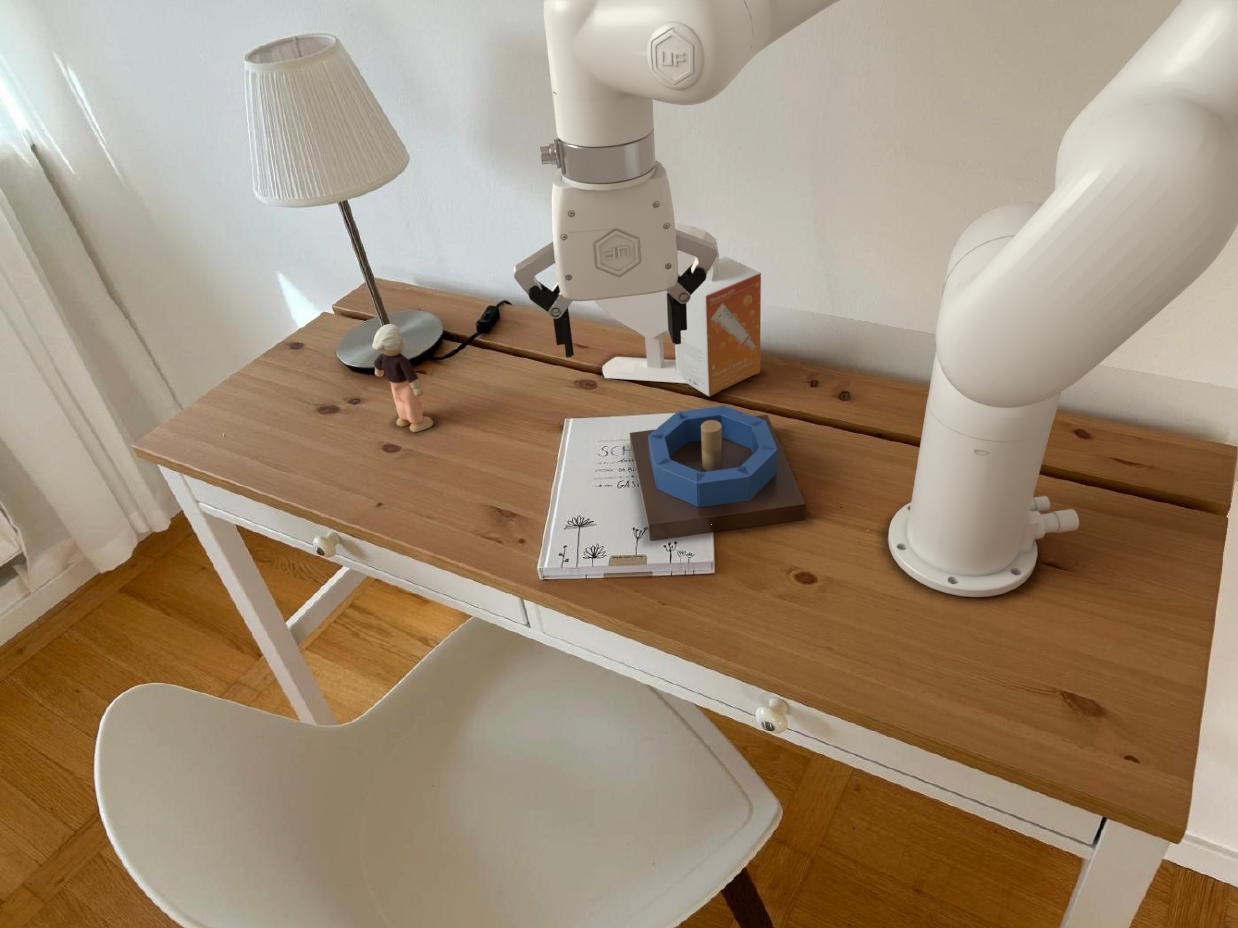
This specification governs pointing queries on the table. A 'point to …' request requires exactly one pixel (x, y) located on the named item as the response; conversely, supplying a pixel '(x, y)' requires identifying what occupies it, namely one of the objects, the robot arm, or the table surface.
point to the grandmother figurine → (400, 378)
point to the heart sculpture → (650, 323)
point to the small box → (722, 330)
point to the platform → (683, 518)
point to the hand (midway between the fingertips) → (621, 343)
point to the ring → (718, 483)
